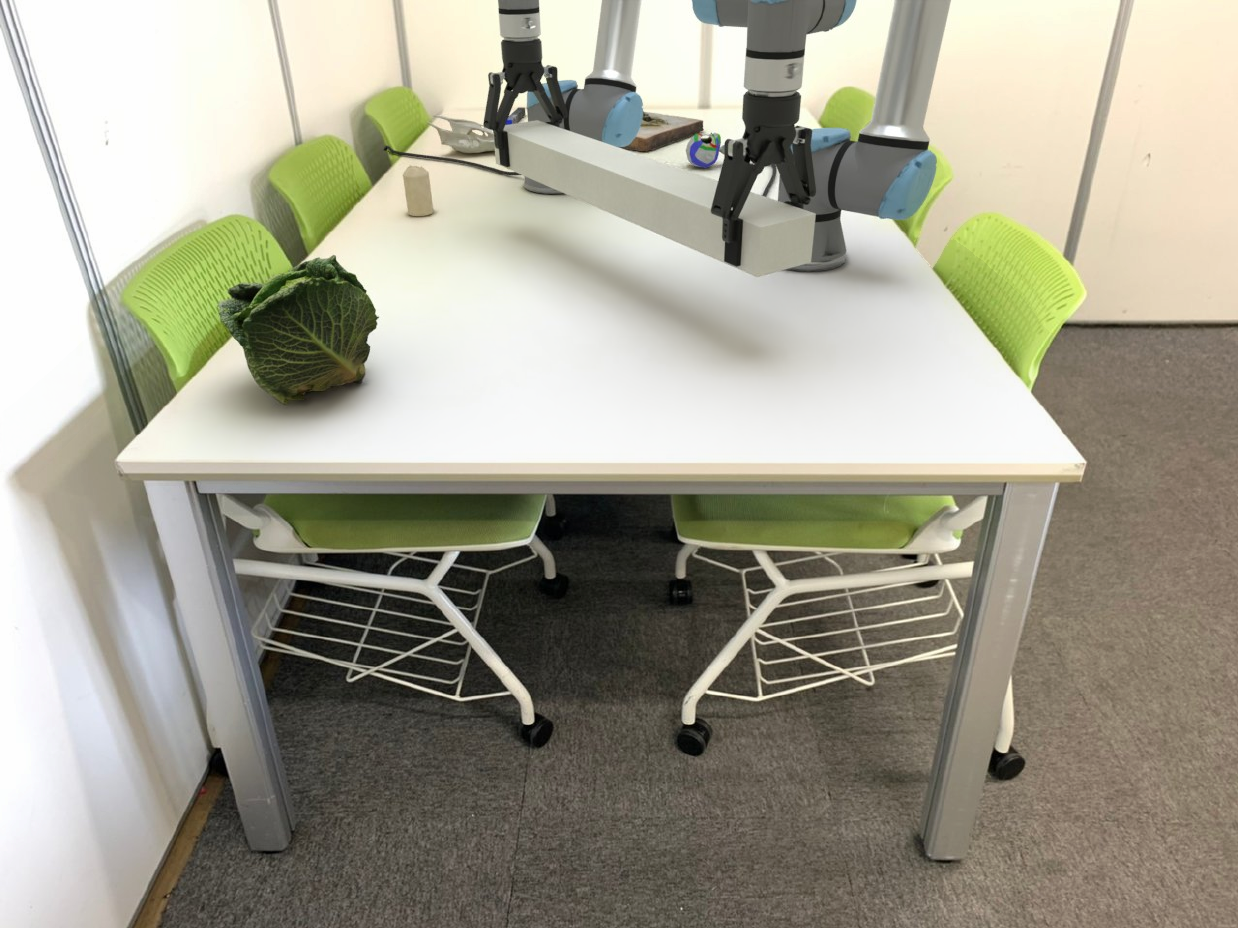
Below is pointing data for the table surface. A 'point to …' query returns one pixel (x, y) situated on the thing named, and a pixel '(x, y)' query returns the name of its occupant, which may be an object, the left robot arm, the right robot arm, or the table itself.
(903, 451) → the table surface
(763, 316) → the table surface
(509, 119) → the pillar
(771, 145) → the right robot arm
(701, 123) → the plaque
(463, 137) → the anatomical model
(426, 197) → the candle
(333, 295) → the vegetable
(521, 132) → the light grey rectangular bar
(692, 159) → the toy
